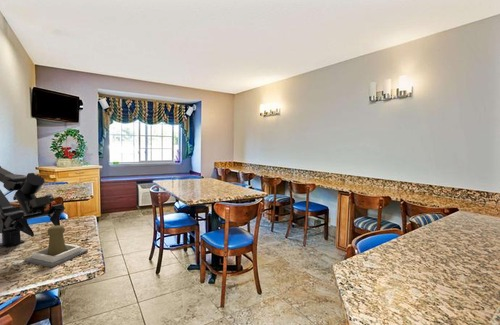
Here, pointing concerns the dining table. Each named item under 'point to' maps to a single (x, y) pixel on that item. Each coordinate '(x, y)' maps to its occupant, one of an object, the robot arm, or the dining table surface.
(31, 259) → the grey square tray
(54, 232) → the olive tapered shaker
